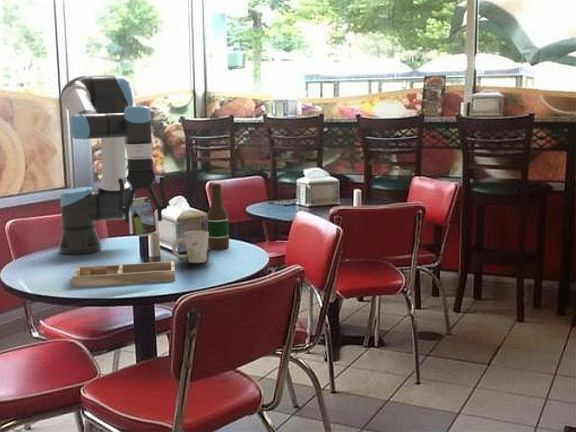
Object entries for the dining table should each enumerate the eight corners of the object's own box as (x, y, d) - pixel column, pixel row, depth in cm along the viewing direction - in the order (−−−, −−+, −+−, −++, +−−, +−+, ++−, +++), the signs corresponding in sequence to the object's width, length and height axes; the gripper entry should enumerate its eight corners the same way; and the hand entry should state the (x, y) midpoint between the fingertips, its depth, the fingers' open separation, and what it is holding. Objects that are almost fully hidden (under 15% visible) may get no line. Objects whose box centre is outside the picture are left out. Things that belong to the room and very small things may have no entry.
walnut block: (90, 279, 218) (89, 267, 217) (103, 277, 220) (102, 265, 219) (94, 282, 215) (93, 269, 214) (107, 280, 217) (106, 267, 216)
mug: (211, 262, 241) (210, 233, 239) (174, 266, 238) (173, 236, 236) (207, 257, 249) (206, 229, 247) (171, 260, 245) (169, 232, 244)
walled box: (78, 279, 223) (77, 267, 222) (174, 273, 228) (173, 261, 227) (73, 290, 210) (72, 277, 209) (175, 283, 215) (174, 270, 214)
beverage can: (152, 238, 214) (149, 198, 212) (129, 237, 215) (126, 198, 213) (159, 234, 220) (157, 195, 218) (137, 233, 221) (135, 195, 219)
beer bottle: (208, 246, 268) (205, 183, 264) (228, 245, 269) (226, 182, 265) (208, 250, 260) (205, 185, 256) (229, 249, 261) (226, 184, 257)
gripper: (104, 160, 208) (110, 236, 212) (174, 157, 212) (177, 232, 215) (106, 158, 216) (111, 232, 219) (173, 155, 219) (177, 228, 223)
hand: (144, 232), depth 217 cm, fingers closed on beverage can, 7 cm apart
